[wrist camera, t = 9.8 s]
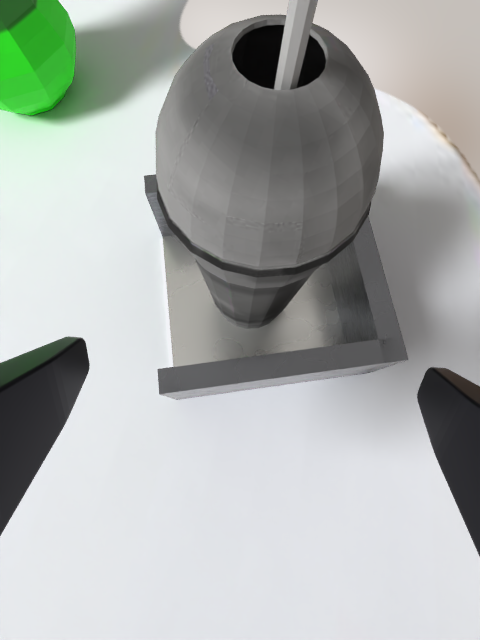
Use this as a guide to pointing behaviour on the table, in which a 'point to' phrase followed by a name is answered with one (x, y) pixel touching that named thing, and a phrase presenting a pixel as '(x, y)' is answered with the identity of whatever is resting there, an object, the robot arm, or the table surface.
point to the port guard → (278, 324)
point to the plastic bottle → (35, 55)
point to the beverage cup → (267, 158)
